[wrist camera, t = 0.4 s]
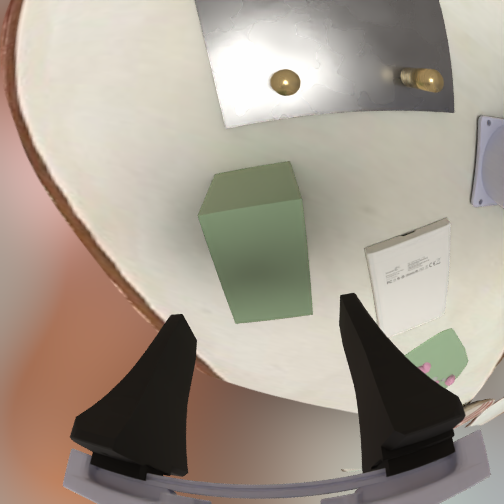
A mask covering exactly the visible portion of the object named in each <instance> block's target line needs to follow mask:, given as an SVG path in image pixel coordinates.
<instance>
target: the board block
mask: <svg viewBox="0 0 504 504" xmlns="http://www.w3.org/2000/svg"><path fill="white" fill-rule="evenodd" d="M198 218H199V221H200V224H201V227H202V230H203V233H204V236H205V239H206V242H207V245H208V248H209V251H210V254H211V257H212V260H213V262H214V265H215V268H216V271H217V274H218V277H219V280H220V282H221V285H222V288H223V291H224V293H225V296H226V299H227V302H228V304H229V307H230V310H231V313H232V315H233V318H234V321H235V323H236V324H238V323H248V322H258V321H267V320H275V319H283V318H291V317H298V316H306V315H313V311H312V296H311V283H310V271H309V260H308V250H307V240H306V230H305V221H304V212H303V204H302V198H301V194H300V191H299V188H298V185H297V182H296V179H295V176H294V172H293V169H292V166H291V163H290V161H288V162H281V163H275V164H268V165H262V166H256V167H251V168H245V169H240V170H234V171H229V172H224V173H219V174H215V176H214V178H213V180H212V183H211V185H210V187H209V190H208V192H207V195H206V197H205V199H204V202H203V204H202V207H201V209H200V212H199V214H198Z"/></svg>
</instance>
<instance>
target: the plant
mask: <svg viewBox="0 0 504 504" xmlns="http://www.w3.org/2000/svg"><path fill="white" fill-rule="evenodd" d="M405 356H406V357H407V358H408V359H409V360H410V361H411V362H412V363H413V364H414V365H415V366H416V367H418V368H419V369H420V370H421V371H423V372H424V373H425V374H426V375H427V376H429V377H430V378H431V379H433V380H434V381H435V382H437V383H438V384H439V385H441V386H442V387H444V388H447V387H448V386H449V385H451V384H452V383H453V382H454V380H455V379H456V378H457V377H458V376H459V375H460V374H461V372H462V371H463V369H464V368H465V367H466V365H467V363H468V358H467V355H466V351H465V348H464V346H463V345H462V343H461V341H460V339H459V338H458V336H457V335H456V333H455V331H454V330H453V329H452V328H450V329H447V330H444V331H442V332H440V333H438V334H437V335H435V336H433V337H432V338H430V339H429V340H427V341H425V342H424V343H423V344H421V345H420V346H418V347H416V348H415V349H413V350H412V351H411V352H409V353H408V354H406V355H405Z"/></svg>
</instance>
